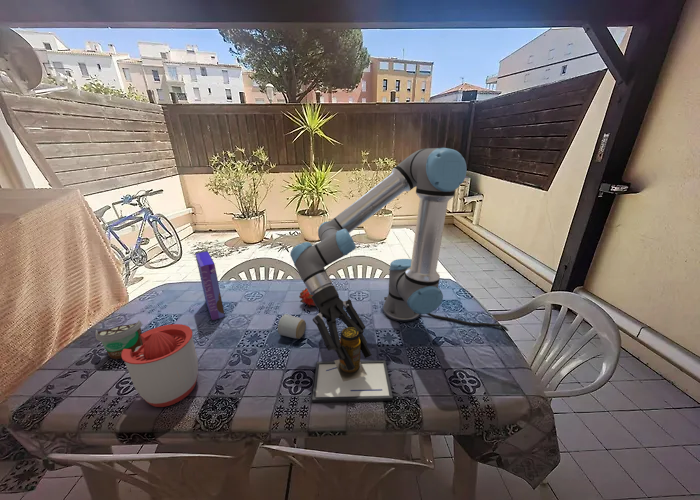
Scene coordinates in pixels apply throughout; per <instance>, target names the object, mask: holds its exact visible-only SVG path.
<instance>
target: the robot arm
mask: <svg viewBox="0 0 700 500" xmlns="http://www.w3.org/2000/svg"><path fill="white" fill-rule="evenodd" d="M467 169H468V168H467V162H466V160H465V158H464V157H463V155H462V153H460V152H459V151H458V150H456V149H452V148H449V147H435V148H434V147H433V148H432V147H431V148H429V147H425V148H421V149H419V150H416V151H414V152H413V153H411V154H409V155H408V156H407V157H405V159H403V160H402V161H401V162H400V163H399V164H396V166H394V167H393V168H392V169H391V173H390V174H389V175H388V176H387V177H385V178H384V179H382V180H381V181H380V182H379V183H378V184H375V186H373V187H372V188H371V189H370V190H368V191H367V192H366V193H365V194H363V195H362V196H361V197H359V198H358V199H357V200H356V201H354V202H353V203H351V205H349V206H347V207H346V208H345V209H344V210H343V211H341V212H340V213H339V214H338V215H336V216H335V217H333V218H332V219H331V220H329V221H324V222H322V223H321V224H320V225H319V227H318V229H317V235H318V239H319V242H317V243H315V244H314V245H313V244H312V243H311V242H310V241H305V242H304V241H303V242H302V243H299V244H297V245H295V246H294V247H292V249H291V251H290V254H289V256H290V258H291V260H292V262H293V265H294V267H295V269H296V270H297V271H296V272H298V275H299V276H300V278H301V280H302V282H303V284H304V286H305V287H306V288H307V290H308V292H309V293H310V295H313V296H312V300H313V301H314V303H315V305H316V306H315V307H316V308H317V310H318V314H317V315H315V316H314V317H313V318H312V322H313V323H314V324H315V325H316V327H317V329H318V332H319V334H320V336H321V338H322V340H323V343H324V346H325V348H326V350H327V351H335V353H336V355H337V357H338V359H340V360H343V361H344V363H345V365H346V367H347V369H348V370H352V369H354V368H355V366H354V364H353V362H352V360H351V358H350V356H349V354H348V352H347V350H346V348H345V347H344V345H343V346H341V344H340V336H339V331H338V327H337V319H338V320H340V321H342V323H344V325H345V326H346V328H348V327H352V328H355V329H357V330H358V331H359V339H360V342H361V343H360V346H361V348H360V352H361V353H362V355H363V357H364V358H365V359H367V358H370V357H372V356H373V354H372V353H371V350H370V348H369V346H368V345H367V344H368V341H367V340H366V337H365V335H364V334H363V333H364V330H365V329H366V325H365V324H364V322H363V321H362V318H360V316H359V314H358V312H357V311H356V309H355V307H354V305H353V303H352V300H351V299H347V300H342V299H341V298H340V297H339V296H340V295H339V293H338V291H337V289H336V287H335V285H333V281H332V280H331V278H330V275H329V274H328V272H327V270H326V269H325V267H328V266H329V265H330V264H332V263H334V262H336V261H338V260H340V259H341V258H343V257H346V256H348V255H349V254H350V253H352V252H353V251H355V250H356V248H357V245H356V243H355V241H354V239H353V237H352V235H351V233H352V232H353V231H354V230H355V229H357V228H358V227H360V226H361V225H362V224H363V223H365V222H366V221H368V220H369V219H370V218H372V217H373V216H374V215H375V214H376V213H378V212H379V211H381V210H382V209H383V208H384V207H386V206H387V205H389V204H390V203H391V202H393V200H395V199H396V198H398V197H399V196H400V195H402V194H403V193H405V192H410V191H411V190H413V189H414V188H415V194H416V195H417V196H418V198H419V202H418V209H417V216H416V223H415V231H414V239H413V246H412V253H411V258H398V259H395V260H392V261H390V264H389V269H388V270H389V275H388V293H387V296H384V298H383V301H384V303H383V308H382V309H383V314H384V315H385V316H386V317H387V318H389V319H391V320H392V321H395V322H400V323H409V322H414V321H416V320H417V319H419V318H420V315H427V316H430V317H433V318H435V319H441V320H444V321H445V320H447V321H451V322H456V323H460V324H464V325H469V326H488V327H496V328H501V327H502V329H503V330H504V331H506V332H509V328H507V327H506V326H505V325H504V324H500V323H490V322H473V321H472V322H471V321H465V320H461V319H457V318H454V317H447V316H442V315H436V314H433V312H434V311H435V310H437V309H439V307H440V306H441V305H442V302H443V300H444V293H443V292H442V289H440V288H439V284H440V278H441V275H440V274H439V272H438V271H437V268H438V263H439V257H440V251H441V244H442V238H443V234H444V233H443V232H444V227H445V222H446V216H447V209H448V204H449V201H451V200H452V199H453V198H454V197H455V195H456V190H457V189H459V188H460V186H461V185H462V184H463V183H464V181H465V179H466V177H467V171H468V170H467ZM324 319H325V321H326V323H325V321H324ZM499 326H501V327H499Z"/></svg>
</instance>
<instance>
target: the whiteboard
mask: <svg viewBox="0 0 700 500" xmlns="http://www.w3.org/2000/svg"><path fill="white" fill-rule="evenodd" d="M360 363H361V364H362V366H363V368H364V370H365V372H366V373H367V375H366V376H363V377H359V378H356V379H352V380H348V381H343V380H342V378H341V376H340V373H339V371H338V369H337V366H336V364H335V360H333V361H332V360H331V361H329V360H327V361H316V365H315V372H314V381H313V388H312V395H311V402H312V403H336V402H338V403H339V402H341V403H342V402H381V401H382V402H384V401H385V402H388V401H393V400H394V397H393V391H392V386H391V380H390V376H389V371H388V366H387V361H386V360H385V359H384V360H382V359H381V360H380V359H379V360H360Z"/></svg>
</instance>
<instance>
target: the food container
mask: <svg viewBox="0 0 700 500" xmlns="http://www.w3.org/2000/svg"><path fill="white" fill-rule="evenodd" d="M142 327H143V323H142V321H141V320H140V319H137V322H134V323H130V324H122V325H117V326H115V327H112V328H108V329H105V330H100V331H98V329H95V339H96V341H98V342H101V344H102V346H103V348H104V349H105V351H106V354H108V356H109V358H111V359H113V360H121V359H122V357H121V354H122V351H123V349H131V350H132V352H134V351H135V349H136V347H139V346H142V345H143V343H142V339H141V335H140V334H142V333H143V332H142ZM122 360H123V359H122Z"/></svg>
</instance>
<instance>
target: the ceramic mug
mask: <svg viewBox="0 0 700 500" xmlns="http://www.w3.org/2000/svg"><path fill="white" fill-rule="evenodd" d="M306 327H307V323H306V321H305V320H304V319H303V318H301V317H298V316H294V315H291V314H289V313H285V314H283V315H282V316H281V317H280V318H279V321H278V324H277V333H278V335H280V336H283V337H287V338H291V339H301V338H302V337H303V335H304V334H305V331H306Z"/></svg>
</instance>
